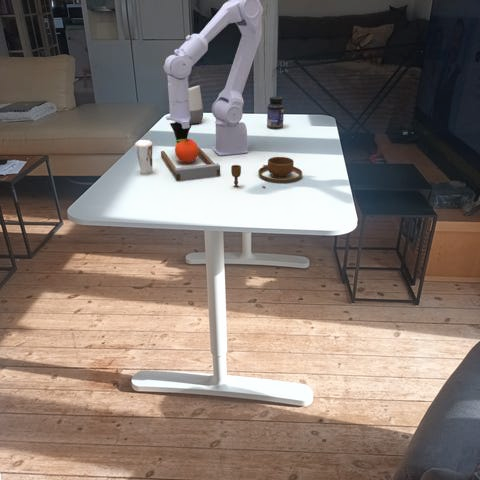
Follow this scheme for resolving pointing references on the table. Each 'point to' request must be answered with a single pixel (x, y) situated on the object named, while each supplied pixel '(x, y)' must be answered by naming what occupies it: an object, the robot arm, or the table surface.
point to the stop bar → (197, 172)
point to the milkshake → (144, 155)
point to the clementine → (186, 150)
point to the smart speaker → (195, 105)
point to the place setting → (272, 170)
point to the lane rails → (172, 167)
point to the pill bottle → (275, 113)
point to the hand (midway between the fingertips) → (181, 147)
